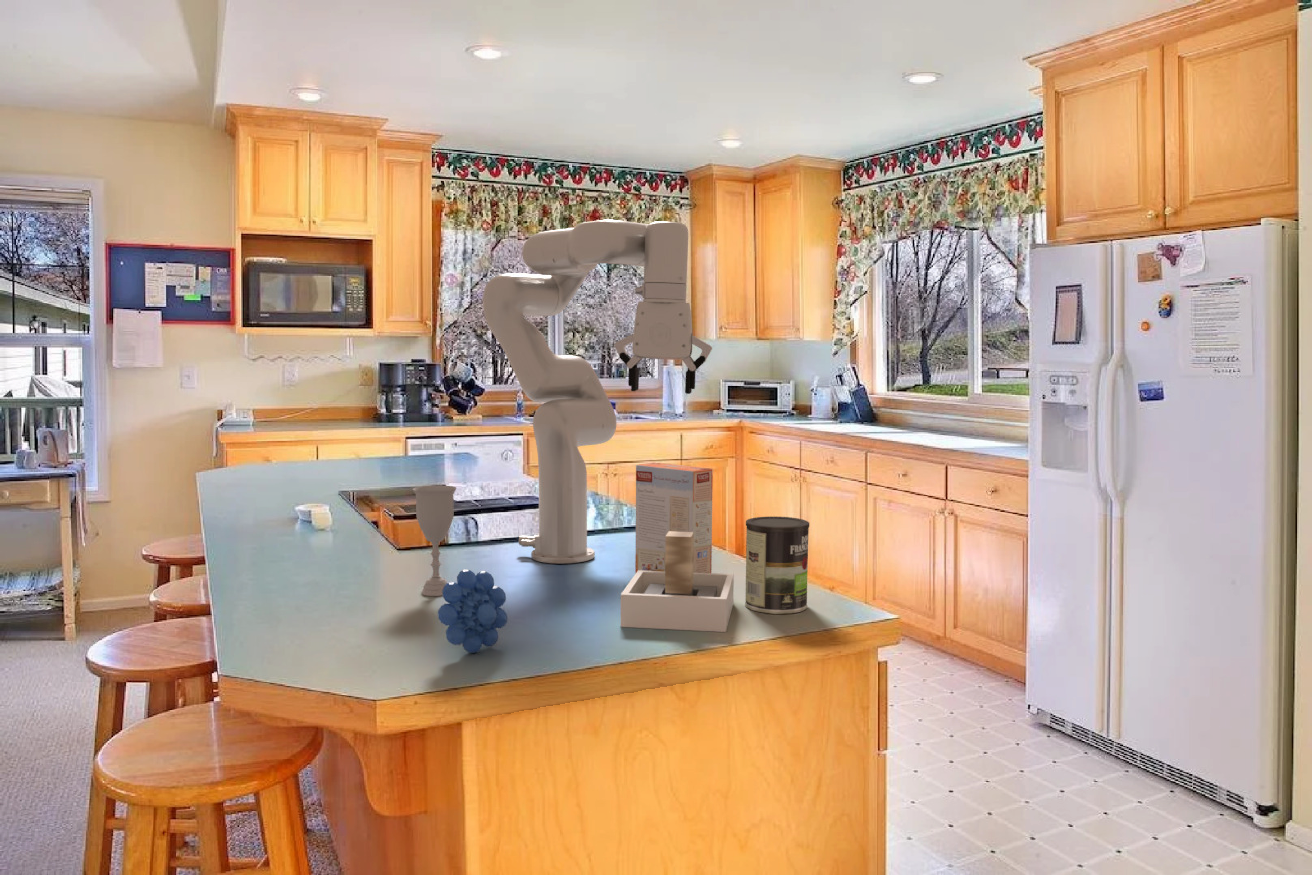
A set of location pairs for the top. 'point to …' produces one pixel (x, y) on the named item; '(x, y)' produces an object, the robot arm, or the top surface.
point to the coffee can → (776, 564)
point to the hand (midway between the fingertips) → (661, 391)
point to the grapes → (473, 610)
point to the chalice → (434, 527)
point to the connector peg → (679, 563)
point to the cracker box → (672, 513)
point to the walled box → (678, 603)
